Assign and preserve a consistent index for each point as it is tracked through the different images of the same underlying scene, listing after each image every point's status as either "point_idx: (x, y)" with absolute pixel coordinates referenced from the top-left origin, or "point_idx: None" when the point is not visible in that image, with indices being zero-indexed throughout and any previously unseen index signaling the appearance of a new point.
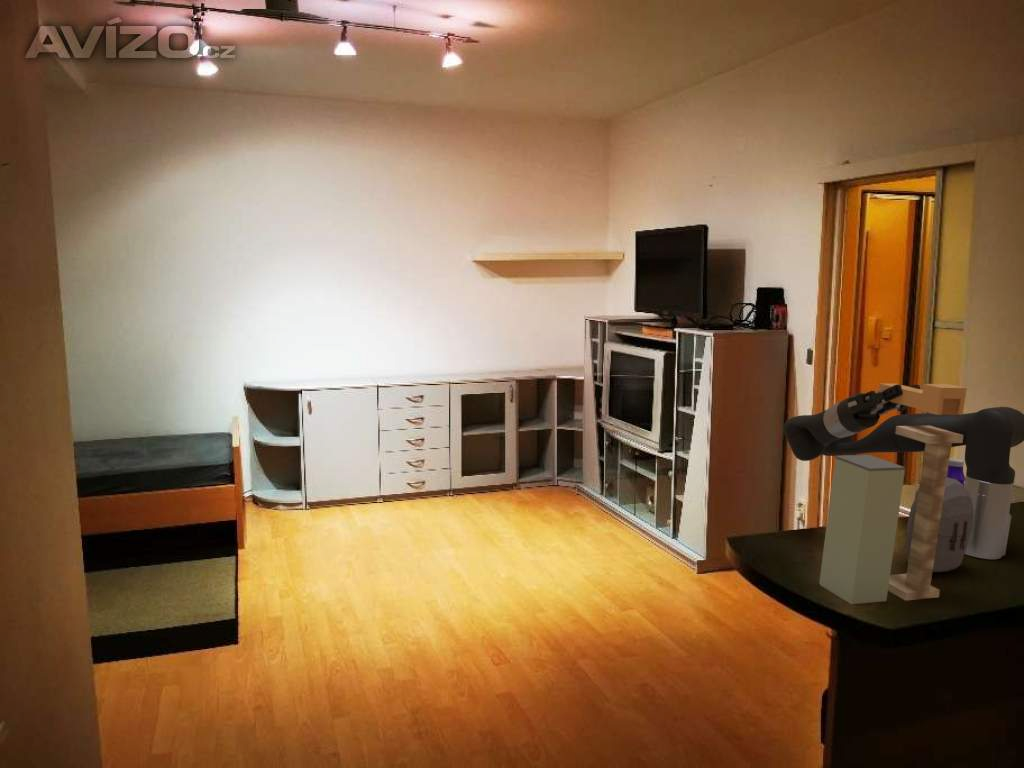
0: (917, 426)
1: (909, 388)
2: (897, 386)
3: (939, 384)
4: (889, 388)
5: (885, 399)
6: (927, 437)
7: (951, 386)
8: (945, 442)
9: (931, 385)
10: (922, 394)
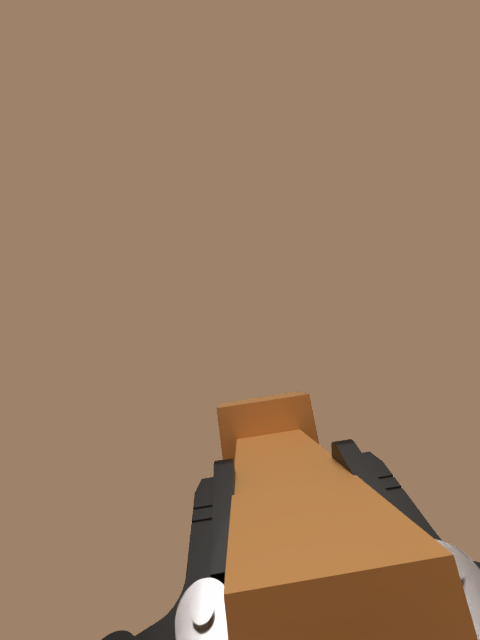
0: None
1: (279, 468)
2: (351, 447)
3: (258, 401)
4: (384, 491)
5: None
6: None
7: (248, 400)
8: None
9: (300, 393)
10: (315, 426)
